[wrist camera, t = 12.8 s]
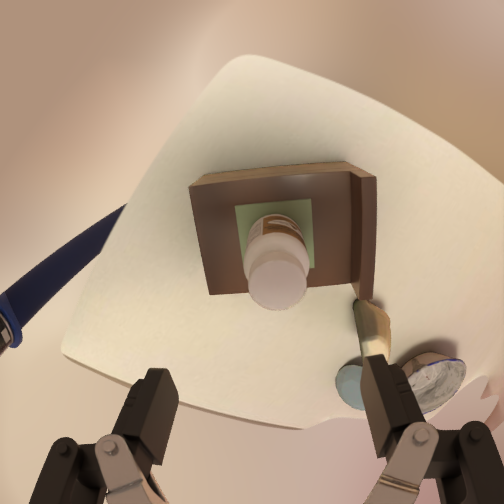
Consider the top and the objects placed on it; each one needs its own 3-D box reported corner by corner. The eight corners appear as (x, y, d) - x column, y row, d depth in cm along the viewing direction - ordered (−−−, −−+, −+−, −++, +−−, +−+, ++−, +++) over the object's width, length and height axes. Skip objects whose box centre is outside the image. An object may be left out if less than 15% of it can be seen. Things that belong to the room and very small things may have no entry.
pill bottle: (312, 230, 24) (330, 275, 17) (283, 272, 26) (287, 328, 19) (266, 202, 23) (265, 237, 16) (238, 246, 25) (226, 296, 18)
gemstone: (404, 375, 34) (388, 395, 31) (376, 404, 38) (358, 423, 35) (365, 342, 39) (346, 357, 36) (342, 373, 43) (323, 388, 40)
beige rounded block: (331, 315, 35) (343, 361, 27) (362, 286, 33) (383, 328, 25) (360, 337, 36) (376, 382, 28) (390, 310, 34) (413, 352, 27)
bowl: (375, 404, 41) (381, 426, 37) (389, 347, 36) (400, 371, 32) (441, 388, 40) (450, 408, 36) (463, 332, 35) (477, 352, 31)
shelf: (219, 266, 33) (203, 314, 24) (203, 174, 29) (177, 195, 21) (348, 254, 31) (372, 299, 23) (345, 161, 27) (376, 176, 19)
